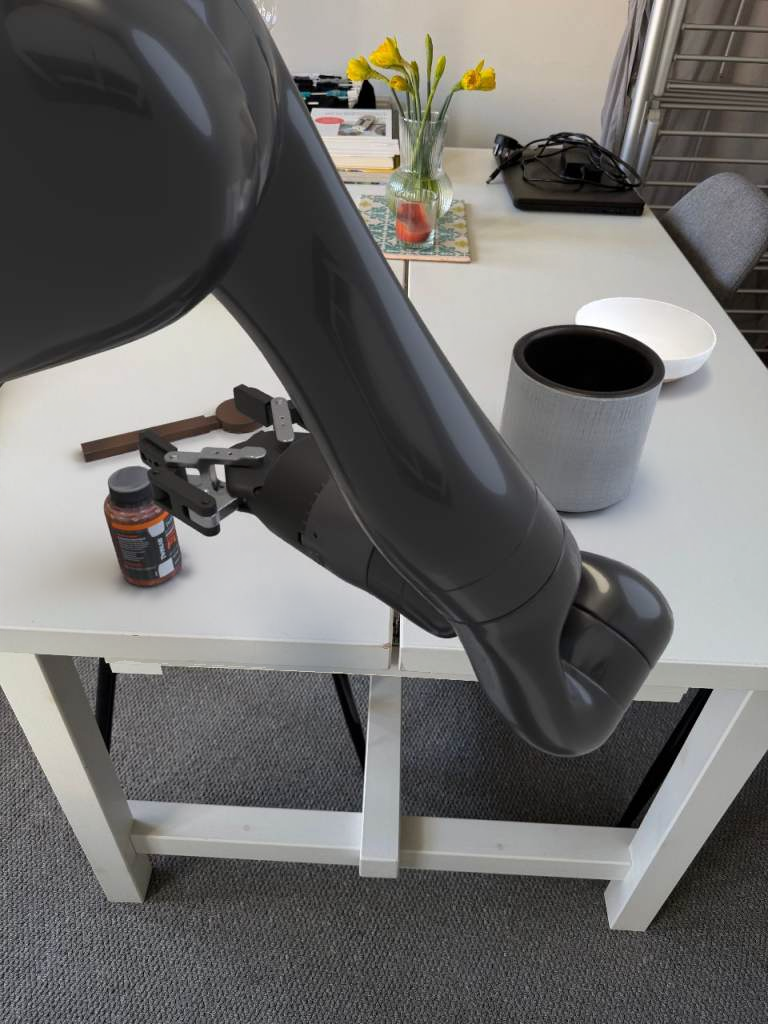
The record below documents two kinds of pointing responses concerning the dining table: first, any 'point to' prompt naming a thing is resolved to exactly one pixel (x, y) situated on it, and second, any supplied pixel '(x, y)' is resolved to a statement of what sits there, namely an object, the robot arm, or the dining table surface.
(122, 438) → the spoon
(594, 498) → the planter
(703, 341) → the bowl
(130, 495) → the supplement bottle
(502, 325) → the dining table surface
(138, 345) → the dining table surface
